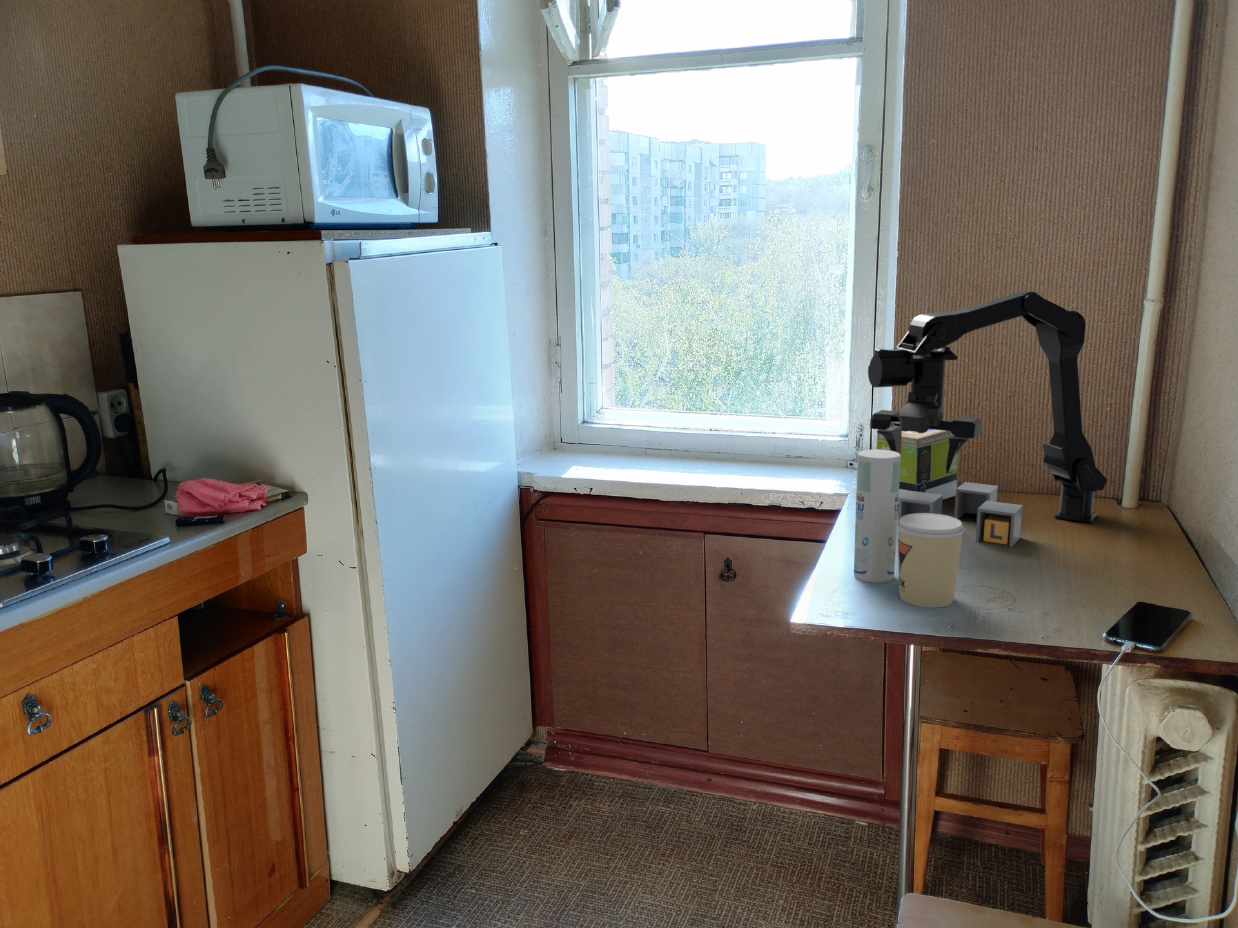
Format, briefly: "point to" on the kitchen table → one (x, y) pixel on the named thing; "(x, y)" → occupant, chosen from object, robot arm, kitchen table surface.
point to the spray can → (876, 515)
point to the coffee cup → (928, 558)
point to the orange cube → (997, 529)
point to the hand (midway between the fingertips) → (922, 469)
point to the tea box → (924, 463)
